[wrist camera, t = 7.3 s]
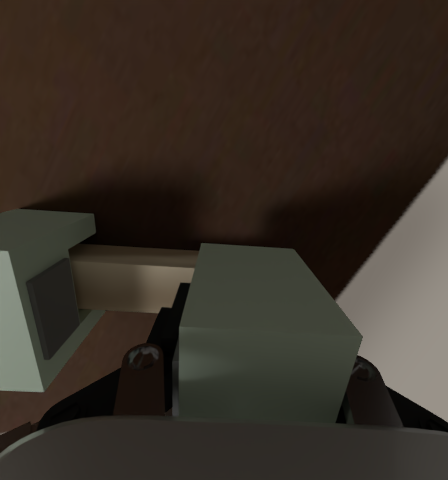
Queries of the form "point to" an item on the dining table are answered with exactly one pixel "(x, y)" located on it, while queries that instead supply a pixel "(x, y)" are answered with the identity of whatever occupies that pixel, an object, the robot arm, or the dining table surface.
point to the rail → (129, 276)
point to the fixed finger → (39, 296)
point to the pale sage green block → (261, 339)
